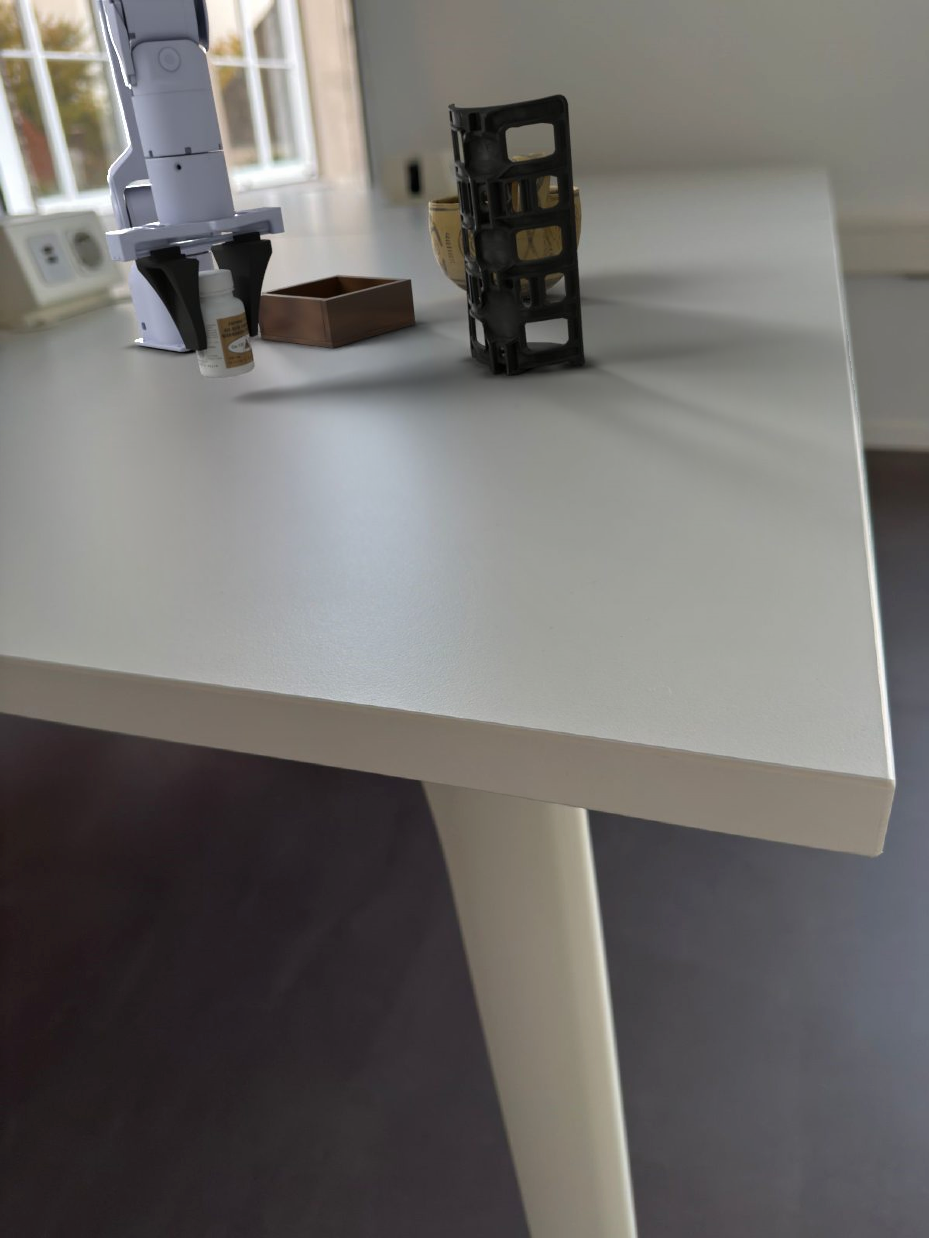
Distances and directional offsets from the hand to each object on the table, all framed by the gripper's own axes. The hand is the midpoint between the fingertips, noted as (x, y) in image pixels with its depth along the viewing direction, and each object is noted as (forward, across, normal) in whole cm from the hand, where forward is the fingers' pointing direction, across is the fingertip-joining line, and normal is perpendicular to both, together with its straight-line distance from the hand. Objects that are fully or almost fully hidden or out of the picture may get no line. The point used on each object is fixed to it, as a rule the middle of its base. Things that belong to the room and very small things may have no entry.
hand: (222, 342), depth 76 cm
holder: (+5, +18, -16) cm, 25 cm away
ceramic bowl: (+5, +43, +6) cm, 44 cm away
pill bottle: (+3, 0, 0) cm, 3 cm away
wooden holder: (+5, +22, +12) cm, 25 cm away
